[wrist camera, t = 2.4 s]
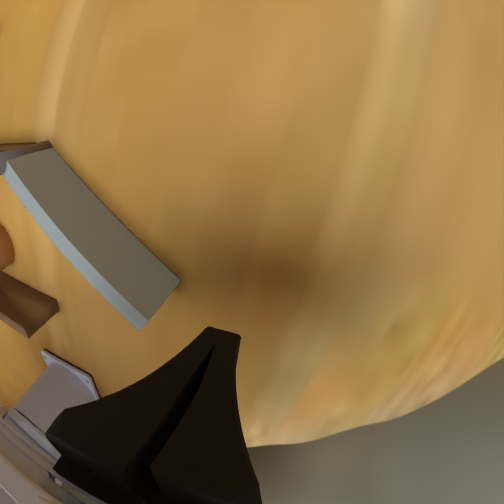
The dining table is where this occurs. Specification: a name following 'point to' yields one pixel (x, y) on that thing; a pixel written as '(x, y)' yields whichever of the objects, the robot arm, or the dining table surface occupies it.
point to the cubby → (23, 296)
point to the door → (88, 232)
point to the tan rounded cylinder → (5, 249)
